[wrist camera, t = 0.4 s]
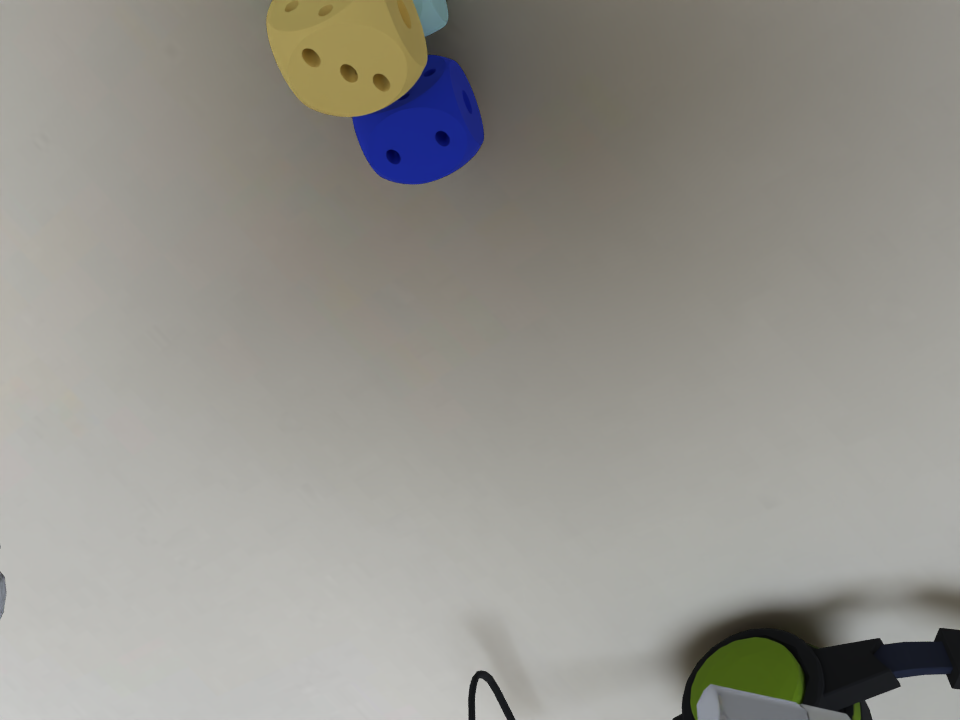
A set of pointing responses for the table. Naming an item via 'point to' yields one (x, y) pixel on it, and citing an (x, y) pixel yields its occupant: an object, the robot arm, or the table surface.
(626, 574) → the table surface
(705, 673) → the headphones
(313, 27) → the dice
